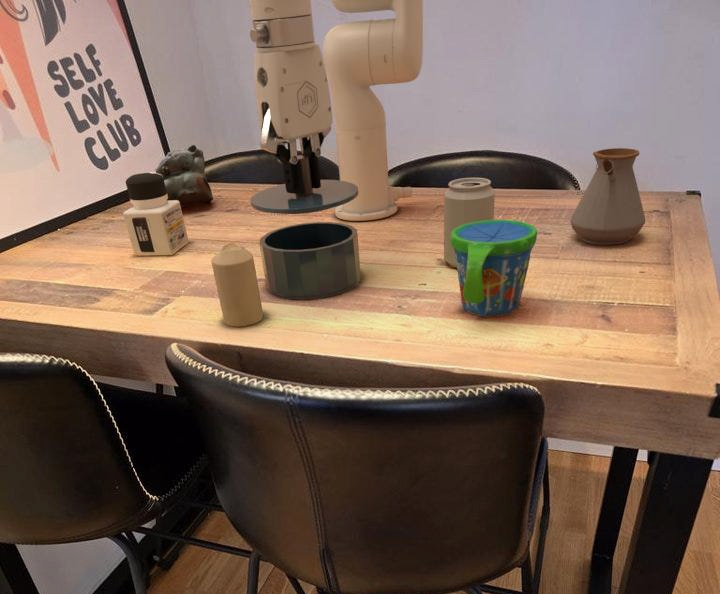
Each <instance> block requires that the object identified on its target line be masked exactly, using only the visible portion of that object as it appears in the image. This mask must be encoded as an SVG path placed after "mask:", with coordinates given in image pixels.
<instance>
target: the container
mask: <svg viewBox="0 0 720 594" xmlns="http://www.w3.org/2000/svg"><path fill="white" fill-rule="evenodd" d="M125 185H126V190H127V192H128V196H129V200H130V203H131V205H133V206H132V207H129V208H128V209H126V210H125V211H123V213H122V216H123V219H124V223H125V226H126V230H127V234H128V237H129V241H130V245H131V248H132V251H133V255H134V256H136V257H138V256H141V257H142V256H143V257H145V256H172V255H174V254H175V253H177V252H178V251H179V250H181V249H182V248H183V247H185V246H186V245H187V244H188V243H189V237H188V232H187V229H186V224H185V219H184V216H183V211H182V206H180V202H179V201H178V200H171V201H167V199H168V195H167V191H166V187H165V182H164V178H163V176H162V175H161V174H158V173H156V171H147V172H140V173H135V174H132V175H130V176H129V177H127V178H126V180H125Z"/></svg>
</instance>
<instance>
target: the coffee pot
mask: <svg viewBox="0 0 720 594" xmlns="http://www.w3.org/2000/svg"><path fill="white" fill-rule="evenodd" d="M639 155H640V150H638V149H635V148H628V147H627V148H625V147H613V148H605V149H600V150H596V151H593V153H592V156H593V157H594V158H595V161H596V165H595V172H594V174H593V175H592V178H591V179H590V181H589V183H588V185H587V187H586V189H585V191H584V192H583V194H582V197H580V200H579V202H578V204H577V206H576V207H575V209H574V211H573V213H572V215H571V218H570V225H571V228H572V230H573V231H574V232H575V234H576V235H577V236H579V237H580V239H581V241H583V242H585V243H588V244H593V245H601V246H610V245H619V244H620V245H621V244H623V243H626V242H628V241H629V240H631V238H632V237H634V236H636V235H637V234H638V233H639V232H640V231H641V230H642V229H643V227H644V226H645V224H646V216H645V212H644V207H643V203H642V199H641V195H640V191H639V187H638V183H637V179H636V175H635V171H634V163H635V161H636V159H637V157H638V156H639Z"/></svg>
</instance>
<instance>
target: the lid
mask: <svg viewBox="0 0 720 594" xmlns="http://www.w3.org/2000/svg"><path fill="white" fill-rule="evenodd" d="M297 157H298V161H297V163H301V165H302V172H303V180H304V188H305V192H304V194H301V195H299V194H292V193H288V192H287V191H286V186H285V183H282V184H278V185H274V186H271V187H267V188H265V189H262V190H260V191H258V192H256V193H254V194H253V195H252V196H251V198H250V206H251V207H252V208H253V209H254V210H256V211H259V212H262V213H268V214H279V215H302V214H312V213H319V212H323V211H327V210H330V209H333V208H337V207H338V206H340V205H343V204H345V203H348V202H350V201H352V200H353V199H355V198H356V197H357V196H358V187H357V186H356V185H355V184H353V183H350V182H346V181H340V179H338V180H337V179H320V181H321V187H320V188H318V189H316V188H313V186H312V178H311V169H310V161H309V156H307V155H302V154H301V155H300V154H299V155H297Z"/></svg>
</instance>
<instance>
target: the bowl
mask: <svg viewBox="0 0 720 594" xmlns="http://www.w3.org/2000/svg"><path fill="white" fill-rule="evenodd" d="M358 235H359V234H358V229H357V228H356V227H354V226H352V225H350V224H347V223H342V222H336V221H335V222H333V221H312V222H303V223H297V224H292V225H287V226H283V227H280V228H276V229H273V230H271V231H269V232H266V233H265V234H264V235H263V236H262V237H260V239H259V243H258V244H259V250H260V257H261V262H262V268H263V274H264V280H265V286H266V289H267V291H268V292H269V293H270V294H271V295H273V296H275V297H278V298H281V299H287V300H295V301H297V300H299V301H300V300H301V301H303V300H304V301H305V300H317V299H324V298H330V297H335V296H337V295H341V294H343V293H346V292H348V291H351V290H352V289H354V288H355V287H357V286H358V285H359V284H360V282H361V279H362V275H361V274H362V272H361V262H360V248H359V237H358Z"/></svg>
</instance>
